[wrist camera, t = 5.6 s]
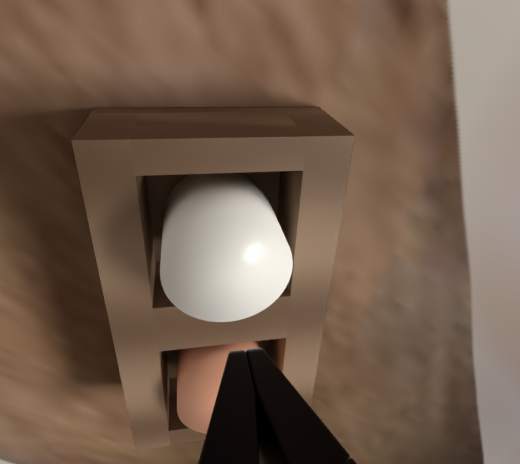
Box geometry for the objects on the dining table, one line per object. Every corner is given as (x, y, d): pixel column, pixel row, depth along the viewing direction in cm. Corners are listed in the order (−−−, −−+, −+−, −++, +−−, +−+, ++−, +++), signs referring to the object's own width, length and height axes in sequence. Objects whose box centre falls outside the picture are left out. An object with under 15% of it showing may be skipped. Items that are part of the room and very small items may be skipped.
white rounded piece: (267, 258, 18) (287, 316, 15) (167, 265, 17) (165, 328, 14) (273, 166, 16) (298, 210, 12) (158, 169, 15) (153, 217, 12)
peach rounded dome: (258, 365, 23) (271, 427, 19) (179, 374, 22) (180, 440, 19) (261, 307, 20) (276, 365, 17) (173, 314, 20) (173, 377, 16)
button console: (289, 366, 25) (307, 425, 22) (141, 384, 23) (135, 450, 20) (319, 106, 17) (354, 135, 13) (94, 107, 15) (71, 140, 12)
